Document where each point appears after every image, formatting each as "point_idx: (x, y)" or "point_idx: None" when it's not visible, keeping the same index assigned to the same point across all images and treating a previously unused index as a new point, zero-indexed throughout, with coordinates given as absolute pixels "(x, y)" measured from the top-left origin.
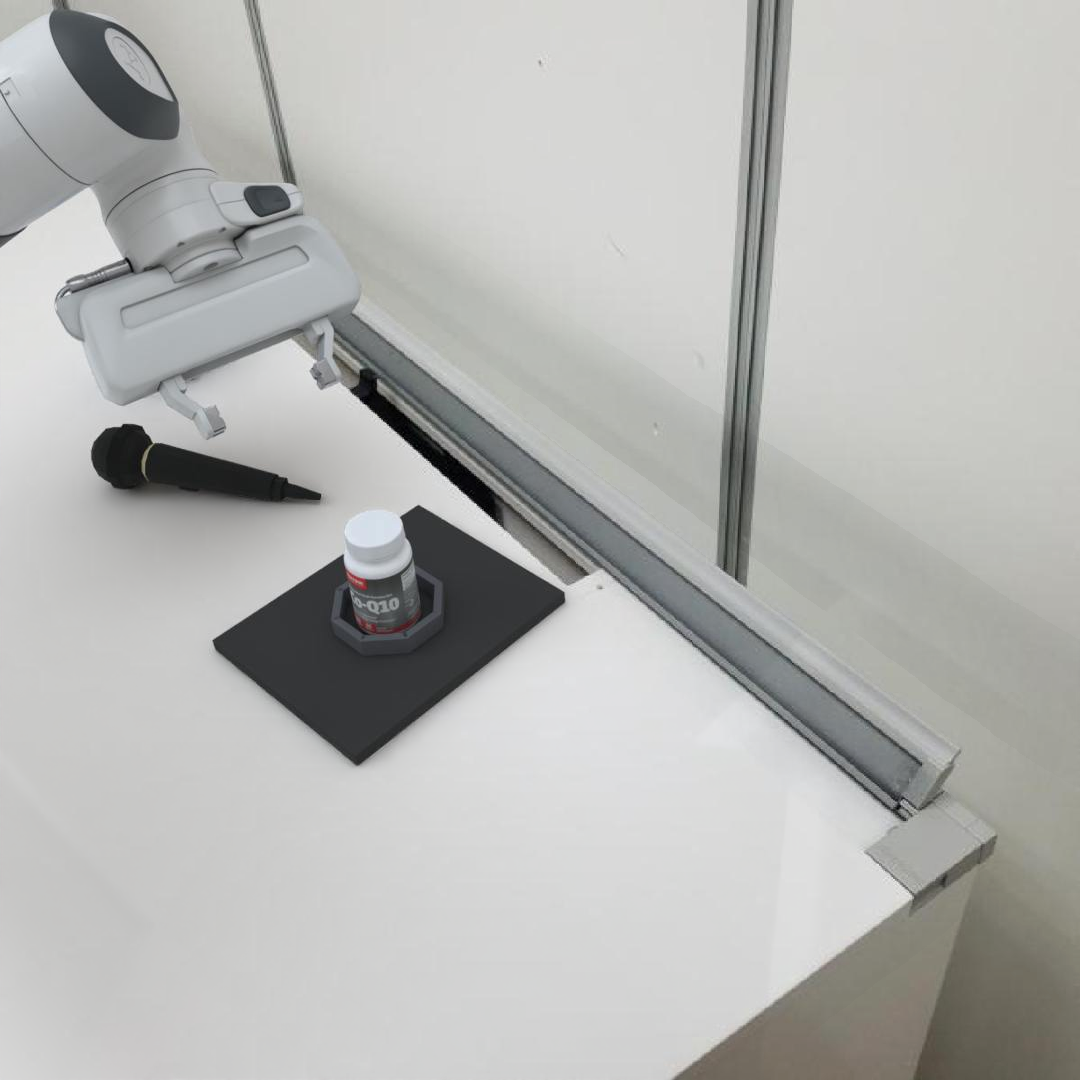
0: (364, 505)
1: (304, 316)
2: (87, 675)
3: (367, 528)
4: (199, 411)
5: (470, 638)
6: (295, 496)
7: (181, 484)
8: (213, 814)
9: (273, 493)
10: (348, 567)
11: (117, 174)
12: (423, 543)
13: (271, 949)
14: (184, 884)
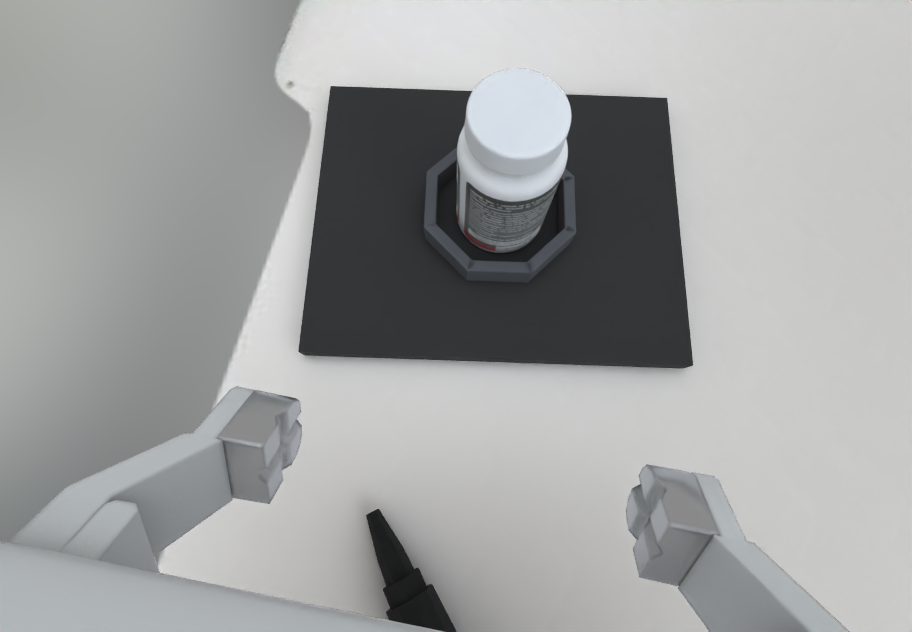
0: (337, 444)
1: (85, 573)
2: (841, 472)
3: (527, 117)
4: (735, 535)
5: (461, 118)
6: (400, 546)
7: None
8: (806, 172)
9: (424, 581)
10: (567, 156)
11: None
12: (364, 281)
13: (829, 33)
14: (865, 132)
